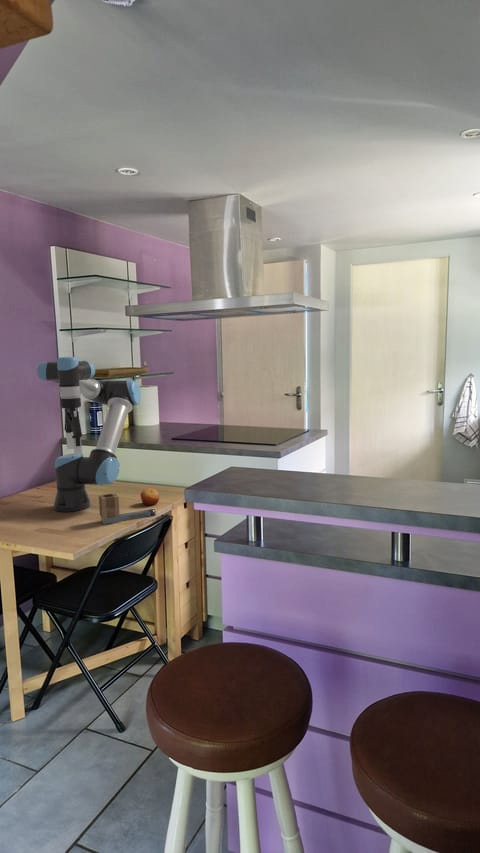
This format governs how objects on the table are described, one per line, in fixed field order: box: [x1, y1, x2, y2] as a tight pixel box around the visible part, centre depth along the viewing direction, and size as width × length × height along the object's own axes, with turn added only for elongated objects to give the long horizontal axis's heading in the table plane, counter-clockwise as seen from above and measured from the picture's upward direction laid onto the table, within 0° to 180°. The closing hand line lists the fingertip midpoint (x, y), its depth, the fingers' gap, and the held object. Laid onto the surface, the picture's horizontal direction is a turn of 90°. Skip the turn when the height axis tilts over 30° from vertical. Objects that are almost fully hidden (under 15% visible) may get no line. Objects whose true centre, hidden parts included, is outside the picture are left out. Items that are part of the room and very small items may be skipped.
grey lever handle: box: [100, 508, 157, 526], centre depth 216 cm, size 5×22×7 cm, turn 116°
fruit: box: [140, 487, 160, 507], centre depth 236 cm, size 8×8×8 cm
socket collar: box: [98, 492, 121, 519], centre depth 212 cm, size 6×6×8 cm
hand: (74, 451), depth 210 cm, fingers open, 13 cm apart
